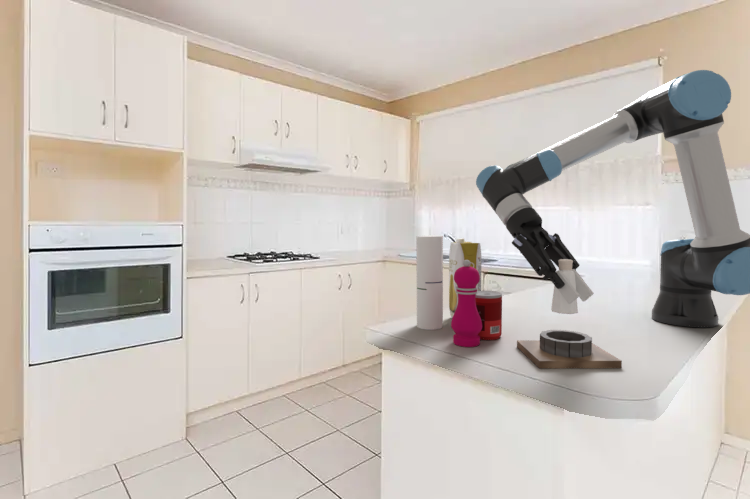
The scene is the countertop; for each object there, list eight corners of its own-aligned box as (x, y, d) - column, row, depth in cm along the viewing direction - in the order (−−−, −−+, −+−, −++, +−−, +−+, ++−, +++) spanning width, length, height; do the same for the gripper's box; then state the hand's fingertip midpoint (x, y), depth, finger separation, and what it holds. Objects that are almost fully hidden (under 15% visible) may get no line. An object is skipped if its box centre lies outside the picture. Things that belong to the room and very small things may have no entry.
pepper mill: (447, 339, 103) (447, 258, 101) (476, 338, 104) (476, 258, 102) (455, 348, 96) (456, 261, 94) (486, 347, 96) (487, 260, 95)
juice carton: (447, 316, 127) (447, 237, 125) (472, 315, 128) (472, 237, 126) (456, 324, 117) (456, 239, 116) (483, 323, 118) (484, 238, 117)
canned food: (503, 333, 108) (504, 291, 107) (498, 342, 100) (499, 296, 99) (473, 330, 111) (473, 289, 110) (467, 338, 103) (467, 294, 103)
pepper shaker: (546, 311, 88) (547, 259, 88) (555, 307, 92) (556, 257, 92) (573, 315, 85) (575, 261, 84) (582, 311, 89) (583, 259, 88)
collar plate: (587, 346, 96) (587, 327, 96) (621, 368, 82) (622, 345, 82) (516, 346, 96) (517, 327, 96) (539, 368, 82) (539, 346, 82)
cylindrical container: (442, 330, 112) (442, 236, 110) (415, 329, 113) (415, 236, 111) (443, 323, 119) (443, 235, 117) (418, 322, 120) (417, 235, 118)
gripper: (534, 228, 105) (594, 304, 92) (484, 229, 97) (542, 313, 83) (553, 206, 100) (619, 284, 86) (501, 205, 92) (566, 291, 78)
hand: (581, 298), depth 85 cm, fingers closed on pepper shaker, 4 cm apart
